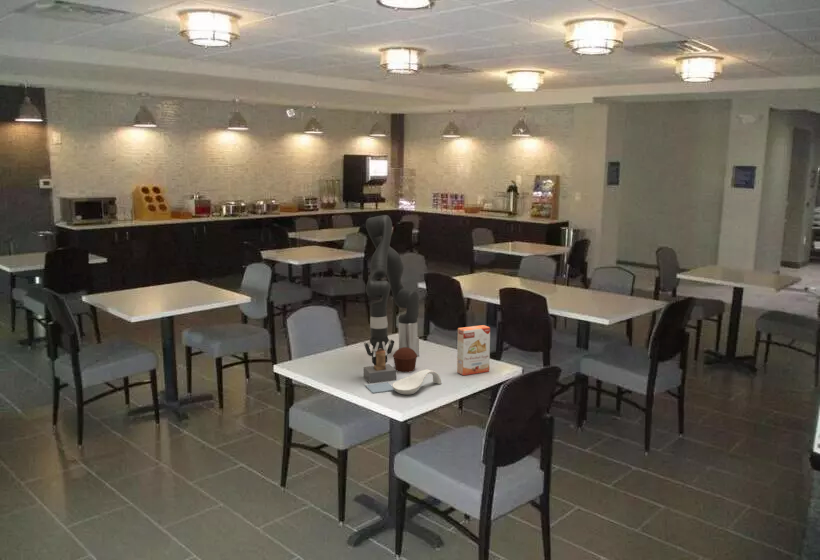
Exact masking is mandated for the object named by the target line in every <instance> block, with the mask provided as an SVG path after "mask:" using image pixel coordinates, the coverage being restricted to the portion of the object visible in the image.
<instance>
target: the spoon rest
mask: <svg viewBox="0 0 820 560" xmlns="http://www.w3.org/2000/svg"><path fill="white" fill-rule="evenodd" d="M429 374H431V375H432V382H433V383H435V384H437V385H442V380H441V377H440V375H439V374H438V373H437V372H436V371H435V370H431V369H422V370H420V371H418V372H415V373H413V374H410V375H408V376H406V377H404V378H401V379H397V380H395V382H393V383H392V385H391V386H392V387H393V389H394V390H395V391H394V392H397V393H398V394H400V395H403V396H404V395H406V396H409V395H413V394H415V393H416V392H418V391H419V389H420V388H421V386H422V384H423V383H424V381H425V379H426V376H428V375H429Z"/></svg>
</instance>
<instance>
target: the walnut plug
mask: <svg viewBox="0 0 820 560" xmlns="http://www.w3.org/2000/svg"><path fill="white" fill-rule="evenodd" d="M375 357H376V365H374V364H373V366H374V369H375V370H376V371H378V370H386V366H385V351H384V350H383V349H378V350H377V352H376V356H375Z"/></svg>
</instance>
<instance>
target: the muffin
mask: <svg viewBox="0 0 820 560" xmlns="http://www.w3.org/2000/svg"><path fill="white" fill-rule="evenodd" d="M392 357H393V362H394V363H393V364H394V369H396V372H401V373H411V372H414V371H415V369H416V366H417V365H416V363H417V358H418V356H417V354H416V353H415V351H414V350H412V349H411V348H408V347H403V348H400V349H399V348H398V349H397V350H395V352H394V353H393V354H392Z"/></svg>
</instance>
